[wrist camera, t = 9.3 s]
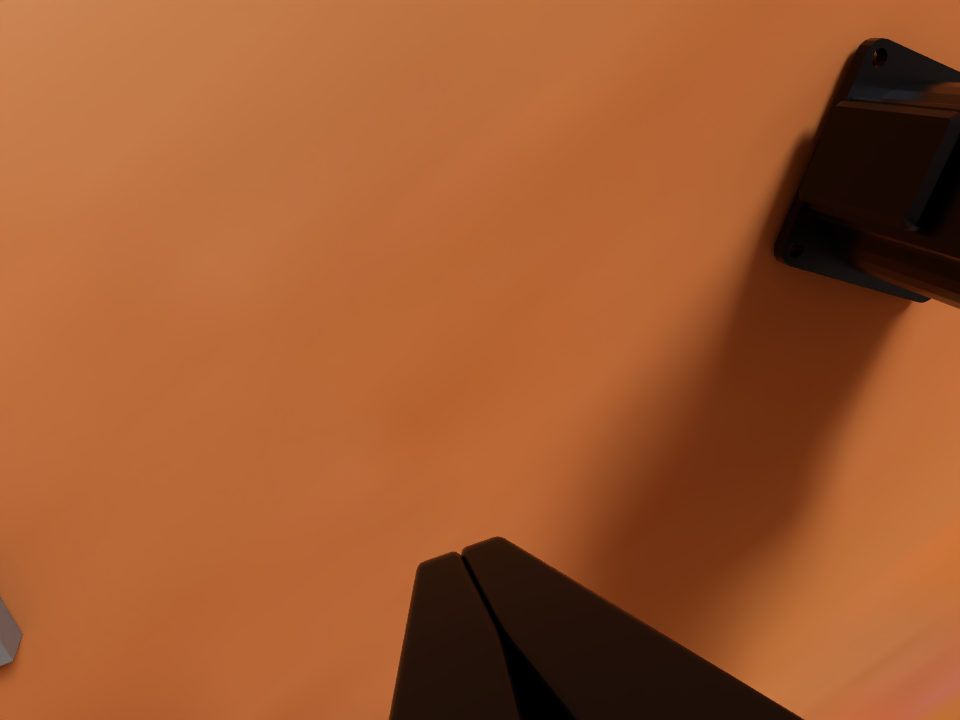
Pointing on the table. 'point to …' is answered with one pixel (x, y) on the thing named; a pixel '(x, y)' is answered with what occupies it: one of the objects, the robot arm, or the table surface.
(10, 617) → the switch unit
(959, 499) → the table surface
